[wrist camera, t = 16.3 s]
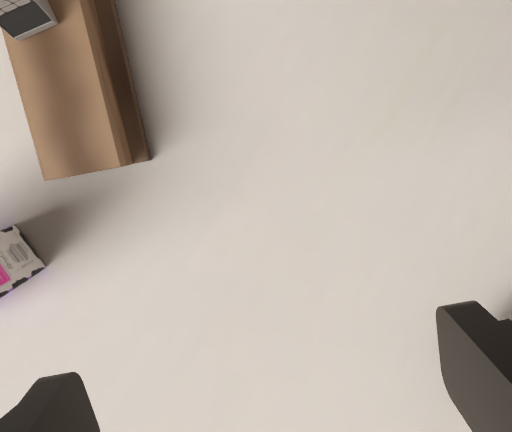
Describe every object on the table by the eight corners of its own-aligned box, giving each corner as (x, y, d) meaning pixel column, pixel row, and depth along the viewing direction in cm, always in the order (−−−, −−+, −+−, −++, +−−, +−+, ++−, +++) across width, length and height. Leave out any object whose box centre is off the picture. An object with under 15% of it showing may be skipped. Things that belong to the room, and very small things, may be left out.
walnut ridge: (97, -71, 40) (72, -107, 34) (151, 159, 44) (136, 163, 38) (-6, -51, 40) (-49, -83, 34) (57, 177, 44) (28, 184, 38)
